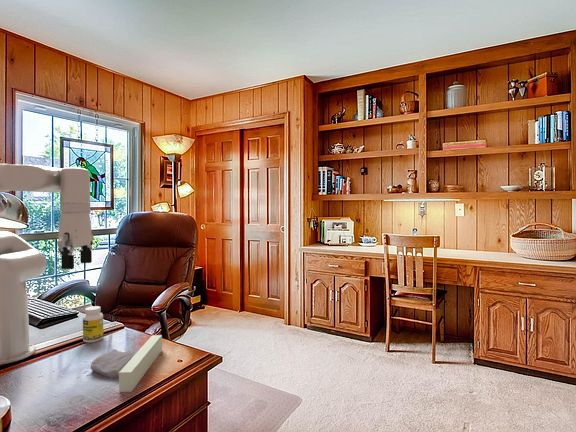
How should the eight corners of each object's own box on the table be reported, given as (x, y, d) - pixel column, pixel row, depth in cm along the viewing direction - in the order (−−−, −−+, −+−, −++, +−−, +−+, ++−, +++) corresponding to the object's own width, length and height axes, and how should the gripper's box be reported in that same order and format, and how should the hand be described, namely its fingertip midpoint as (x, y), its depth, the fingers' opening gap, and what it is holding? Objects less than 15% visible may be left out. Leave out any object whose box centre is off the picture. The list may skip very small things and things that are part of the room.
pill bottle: (79, 343, 117) (78, 310, 116) (89, 336, 123) (88, 305, 122) (97, 343, 117) (97, 310, 116) (107, 335, 123) (106, 305, 122)
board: (119, 392, 87) (118, 372, 87) (152, 350, 111) (152, 335, 111) (131, 391, 87) (131, 372, 87) (162, 350, 111) (161, 335, 111)
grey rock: (123, 386, 93) (145, 362, 103) (119, 370, 92) (142, 347, 102) (86, 382, 96) (111, 359, 106) (82, 367, 95) (108, 345, 104)
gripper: (79, 208, 112) (80, 260, 113) (44, 209, 95) (45, 271, 96) (102, 208, 113) (104, 260, 113) (72, 209, 95) (73, 271, 96)
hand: (77, 265), depth 105 cm, fingers open, 9 cm apart
